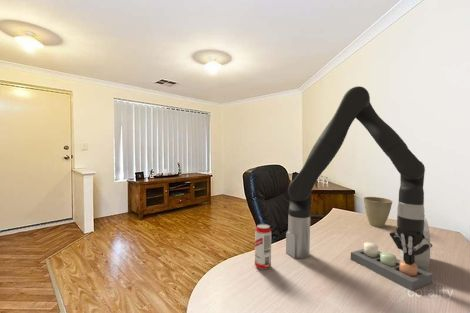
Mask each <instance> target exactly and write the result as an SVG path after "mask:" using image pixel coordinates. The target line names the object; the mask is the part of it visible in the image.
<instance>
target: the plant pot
mask: <svg viewBox="0 0 470 313" xmlns="http://www.w3.org/2000/svg"><path fill="white" fill-rule="evenodd" d="M363 204H364V209H365V214H366V217H367V221H368V224H369V225H370V226H372V227H377V228H383V227H385V224H386V223H387V221H388V219H389V216H390V212H391V209H392V205H393V200H391V199H389V198H385V197H380V196H379V197H377V196H364V197H363Z"/></svg>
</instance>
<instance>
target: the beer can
mask: <svg viewBox="0 0 470 313" xmlns="http://www.w3.org/2000/svg"><path fill="white" fill-rule="evenodd" d="M254 233H255V234H254V245H255V246H254V265H255V267H256V268H257V269H259V270H262V271H264V270H268V269H269V268H270V267H271V266H272V229H271V225H269V224H266V223H258V224H257V225H256V228H255V230H254Z"/></svg>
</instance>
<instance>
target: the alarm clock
mask: <svg viewBox="0 0 470 313" xmlns="http://www.w3.org/2000/svg"><path fill="white" fill-rule="evenodd" d="M423 234H424V236H425V240H426V241H427V242H428V243H431V236H430V228H429V223H428V220H427V218H426V217H424V232H423ZM421 244H422V242H421V243H420V244H418V246H417V248H416V250H418V249H419V248H420V247H422V246H421ZM399 254H400V260H403V256H404V252H403V251H402V250H401V249H399ZM430 260H431V248H429V249H428V250H426V251H425V252H424V253H422V254H419V255H417V256H416V255H415V262H414V263H415V264H416V265H417V268H420V269H422V270H424V271H427V272H429V271H428V270H429V268H430Z"/></svg>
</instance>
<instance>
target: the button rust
mask: <svg viewBox="0 0 470 313" xmlns="http://www.w3.org/2000/svg"><path fill="white" fill-rule="evenodd" d="M400 260H401V259H400ZM399 271H400V272H402V273H404V274H406V275H408V276H410V277H412V278H413V277H415V276H417V265H416V264H415V263H413V264H412V265H408V264H406V263H405V261H404V260H401V261H400V267H399Z"/></svg>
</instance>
